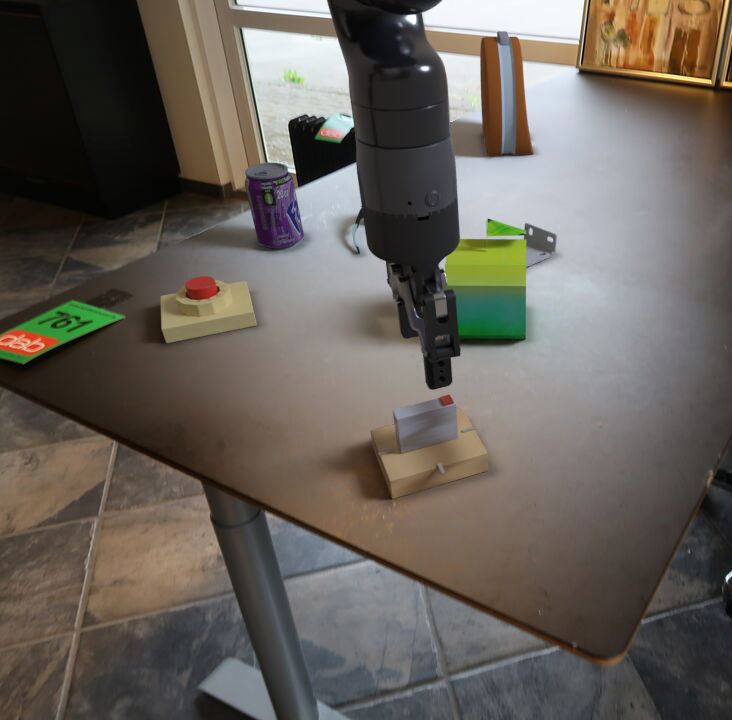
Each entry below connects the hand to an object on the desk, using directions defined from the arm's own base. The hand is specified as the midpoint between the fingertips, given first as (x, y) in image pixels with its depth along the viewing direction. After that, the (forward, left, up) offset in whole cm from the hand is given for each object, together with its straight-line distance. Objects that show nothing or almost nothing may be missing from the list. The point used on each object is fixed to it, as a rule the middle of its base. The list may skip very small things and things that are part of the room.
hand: (425, 359), depth 64 cm
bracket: (+27, +39, -14) cm, 49 cm away
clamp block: (0, +1, -14) cm, 14 cm away
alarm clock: (+45, +90, -14) cm, 102 cm away
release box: (-19, +39, -14) cm, 46 cm away
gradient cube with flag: (+15, +23, -14) cm, 31 cm away
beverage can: (-7, +59, -14) cm, 61 cm away
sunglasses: (+11, +54, -14) cm, 57 cm away
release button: (-19, +39, -10) cm, 45 cm away
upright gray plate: (0, +1, -11) cm, 11 cm away
